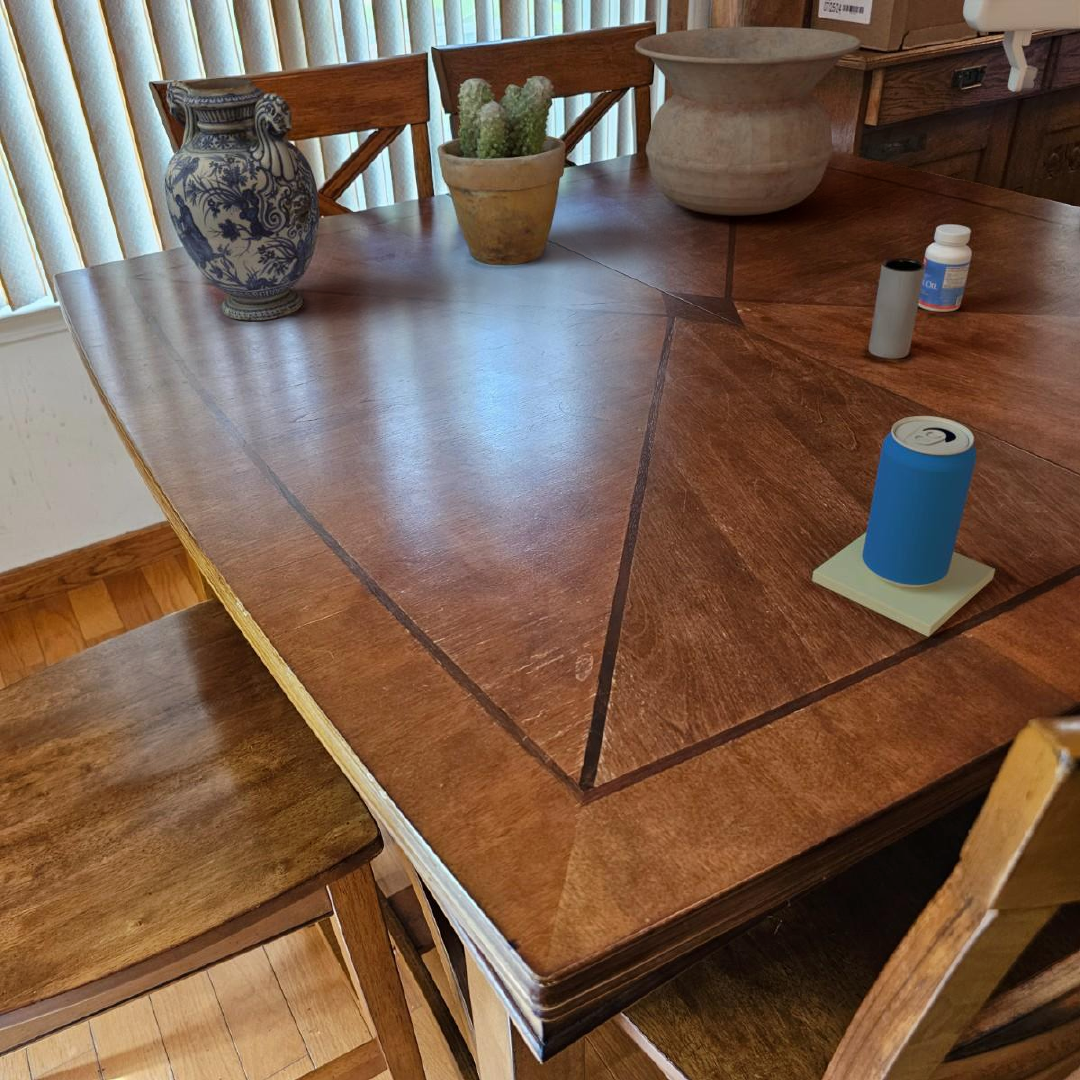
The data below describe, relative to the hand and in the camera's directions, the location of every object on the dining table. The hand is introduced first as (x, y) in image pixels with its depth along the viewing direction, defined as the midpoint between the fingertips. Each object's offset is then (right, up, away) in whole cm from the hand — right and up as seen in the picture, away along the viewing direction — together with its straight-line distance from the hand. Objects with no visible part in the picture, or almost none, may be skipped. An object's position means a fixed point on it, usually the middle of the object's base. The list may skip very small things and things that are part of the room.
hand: (1077, 88), depth 82 cm
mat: (-16, -41, -4) cm, 44 cm away
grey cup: (-4, -16, +33) cm, 37 cm away
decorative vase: (-82, -6, +52) cm, 97 cm away
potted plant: (-50, +6, +68) cm, 84 cm away
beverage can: (-16, -40, -4) cm, 43 cm away
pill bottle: (+6, -8, +44) cm, 45 cm away
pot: (-12, +18, +84) cm, 87 cm away
